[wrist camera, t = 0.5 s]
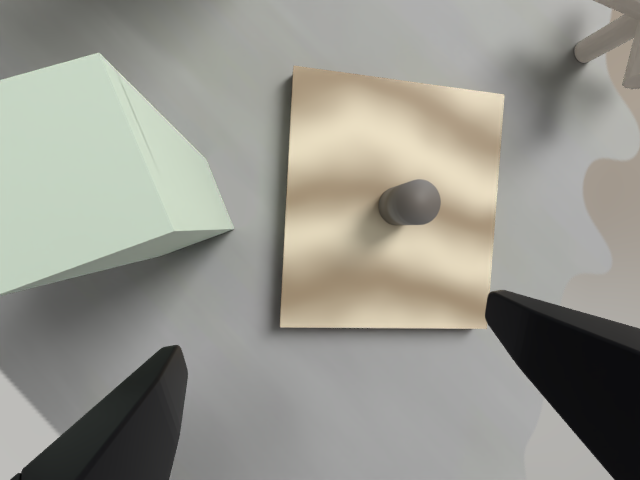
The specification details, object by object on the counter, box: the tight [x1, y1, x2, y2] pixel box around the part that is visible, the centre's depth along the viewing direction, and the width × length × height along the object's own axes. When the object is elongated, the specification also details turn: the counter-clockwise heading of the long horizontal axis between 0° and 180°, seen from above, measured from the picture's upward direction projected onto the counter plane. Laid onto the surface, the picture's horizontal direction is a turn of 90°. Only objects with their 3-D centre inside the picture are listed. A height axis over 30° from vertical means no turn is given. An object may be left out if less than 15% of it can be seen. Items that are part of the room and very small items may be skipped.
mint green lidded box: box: [0, 53, 234, 296], centre depth 15 cm, size 5×5×13 cm
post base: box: [280, 66, 504, 329], centre depth 21 cm, size 18×16×5 cm
